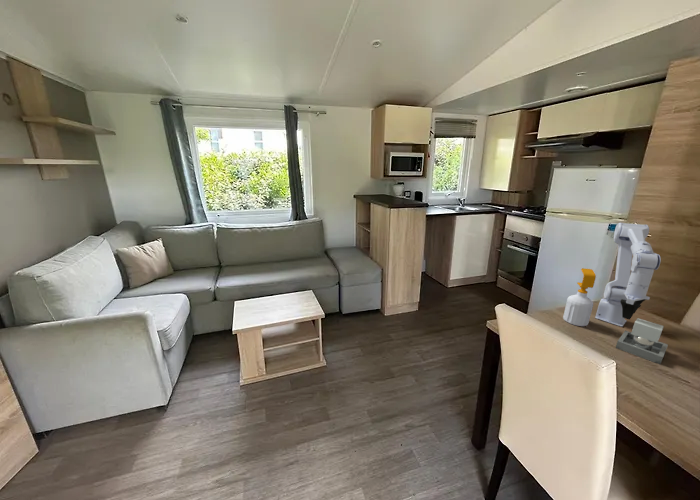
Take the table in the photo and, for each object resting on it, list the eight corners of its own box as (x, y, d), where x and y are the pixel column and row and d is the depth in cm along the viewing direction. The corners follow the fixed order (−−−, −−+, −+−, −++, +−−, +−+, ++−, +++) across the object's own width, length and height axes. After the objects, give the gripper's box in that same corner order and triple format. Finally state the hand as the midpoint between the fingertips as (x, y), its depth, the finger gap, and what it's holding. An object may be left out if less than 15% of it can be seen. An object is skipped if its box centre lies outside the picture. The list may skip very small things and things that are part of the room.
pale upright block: (630, 334, 109) (634, 322, 107) (633, 329, 112) (637, 318, 110) (657, 342, 103) (661, 330, 102) (659, 337, 106) (663, 325, 105)
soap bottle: (583, 317, 132) (596, 267, 124) (591, 328, 123) (606, 274, 116) (559, 314, 134) (571, 265, 127) (566, 324, 126) (579, 272, 119)
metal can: (629, 346, 109) (633, 335, 108) (632, 341, 112) (636, 330, 111) (649, 353, 105) (653, 341, 104) (652, 348, 108) (656, 336, 107)
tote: (615, 347, 110) (617, 341, 109) (623, 336, 117) (625, 330, 116) (660, 364, 101) (662, 357, 100) (665, 351, 108) (668, 344, 107)
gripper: (649, 292, 103) (638, 325, 107) (657, 282, 111) (646, 313, 115) (623, 285, 108) (613, 317, 112) (632, 276, 116) (623, 306, 120)
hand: (628, 315), depth 114 cm, fingers open, 7 cm apart
